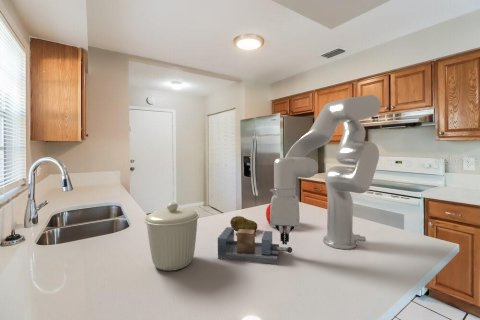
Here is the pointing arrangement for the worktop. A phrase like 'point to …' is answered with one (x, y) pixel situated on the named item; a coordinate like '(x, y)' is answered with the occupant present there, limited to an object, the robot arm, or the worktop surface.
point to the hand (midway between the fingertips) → (284, 243)
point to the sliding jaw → (268, 246)
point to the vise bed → (229, 252)
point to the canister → (172, 236)
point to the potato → (242, 223)
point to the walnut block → (245, 240)
